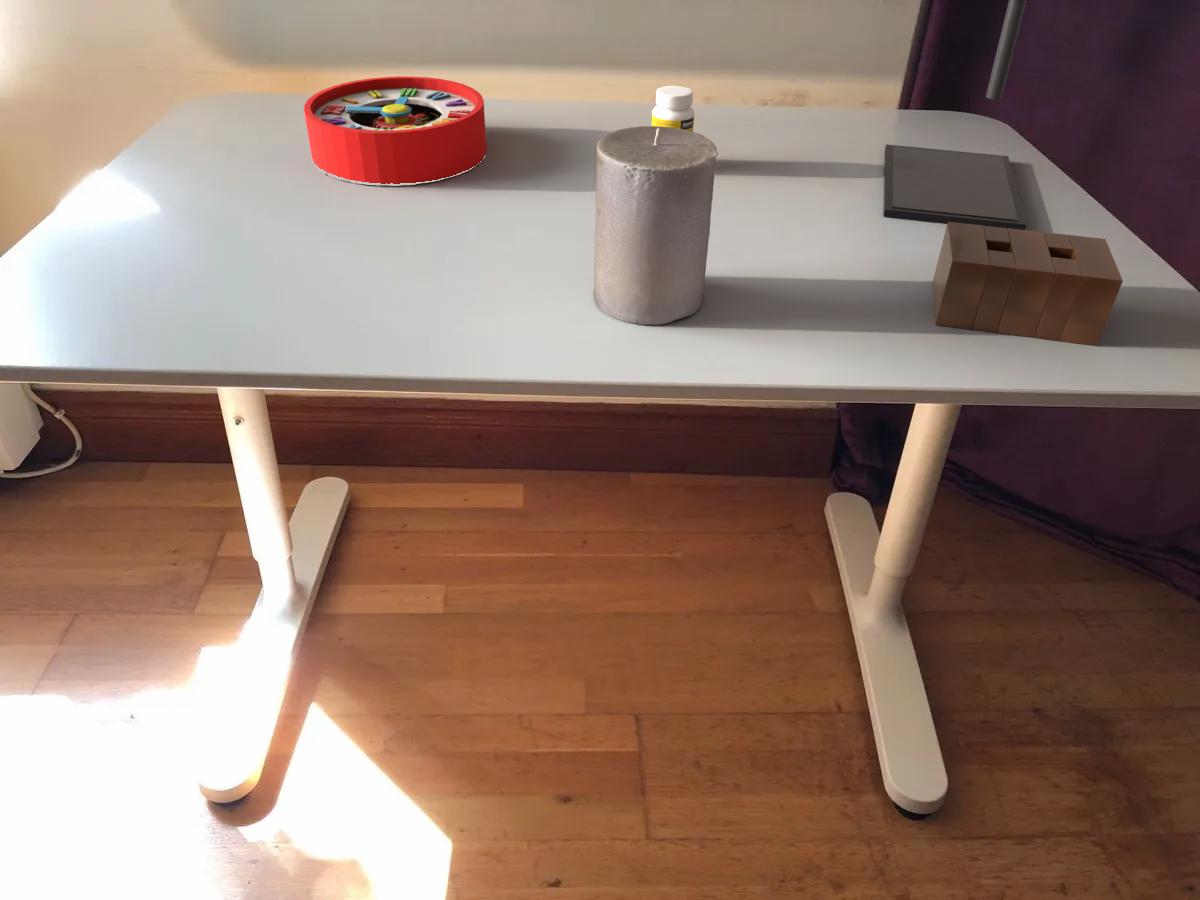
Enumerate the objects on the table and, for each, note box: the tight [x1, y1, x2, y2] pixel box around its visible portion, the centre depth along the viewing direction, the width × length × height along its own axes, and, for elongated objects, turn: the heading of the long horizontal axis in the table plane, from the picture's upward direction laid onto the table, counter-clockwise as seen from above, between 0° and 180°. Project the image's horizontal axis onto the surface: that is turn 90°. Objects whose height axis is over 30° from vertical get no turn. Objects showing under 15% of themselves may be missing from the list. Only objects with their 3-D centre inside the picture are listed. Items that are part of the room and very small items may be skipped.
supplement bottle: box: [650, 85, 695, 132], centre depth 107 cm, size 5×5×8 cm
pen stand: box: [932, 222, 1124, 347], centre depth 81 cm, size 13×8×6 cm, turn 76°
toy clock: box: [303, 75, 488, 184], centre depth 109 cm, size 20×6×20 cm
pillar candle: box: [593, 125, 719, 326], centre depth 79 cm, size 10×10×15 cm
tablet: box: [882, 144, 1028, 230], centre depth 105 cm, size 14×20×1 cm
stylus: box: [985, 0, 1027, 101], centre depth 85 cm, size 1×1×14 cm
